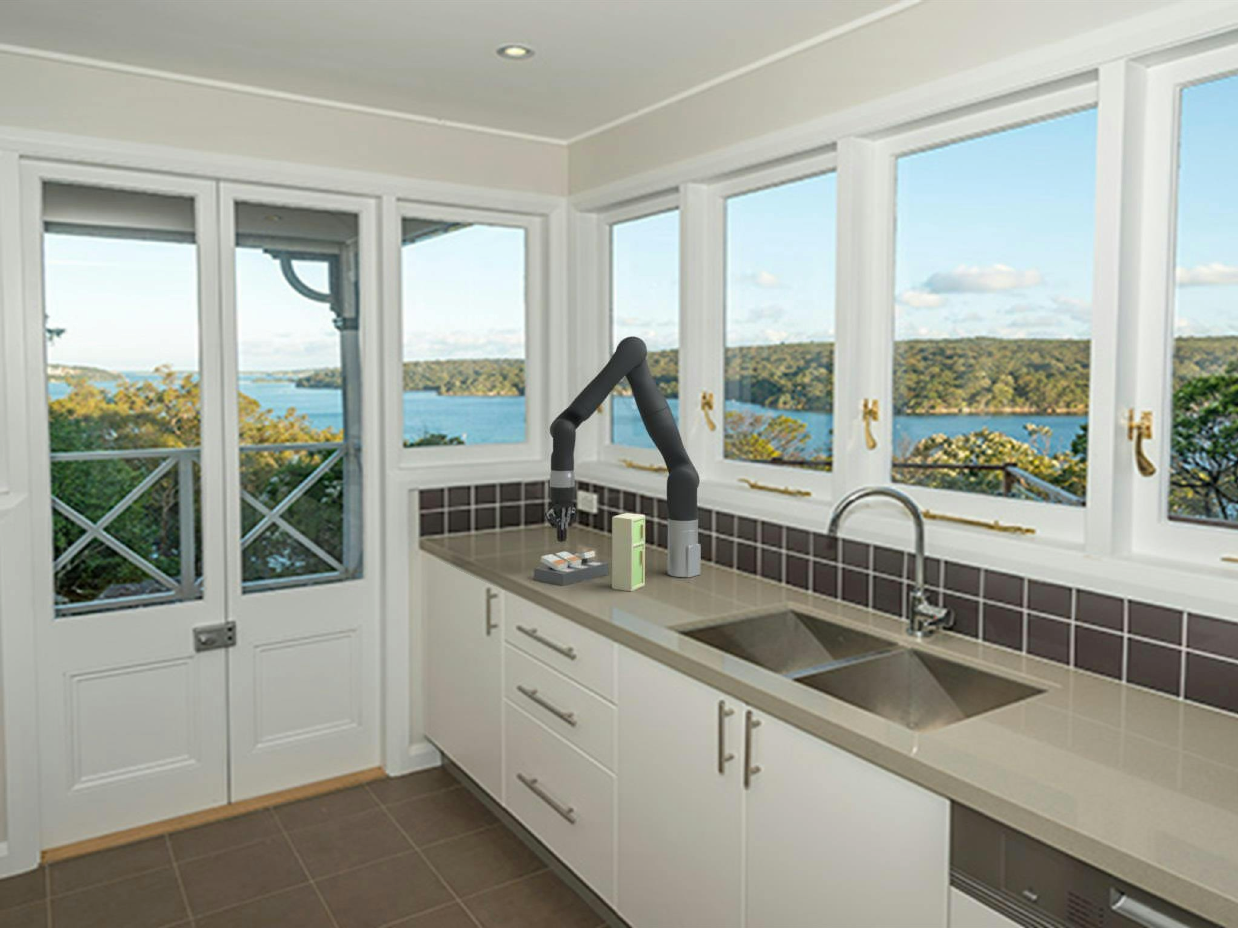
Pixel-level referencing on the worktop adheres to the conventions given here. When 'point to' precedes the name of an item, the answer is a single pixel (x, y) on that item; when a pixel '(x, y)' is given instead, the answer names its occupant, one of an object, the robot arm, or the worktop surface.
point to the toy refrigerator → (628, 551)
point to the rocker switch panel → (572, 572)
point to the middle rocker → (569, 558)
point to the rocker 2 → (585, 555)
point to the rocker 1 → (554, 562)
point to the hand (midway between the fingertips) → (561, 541)
